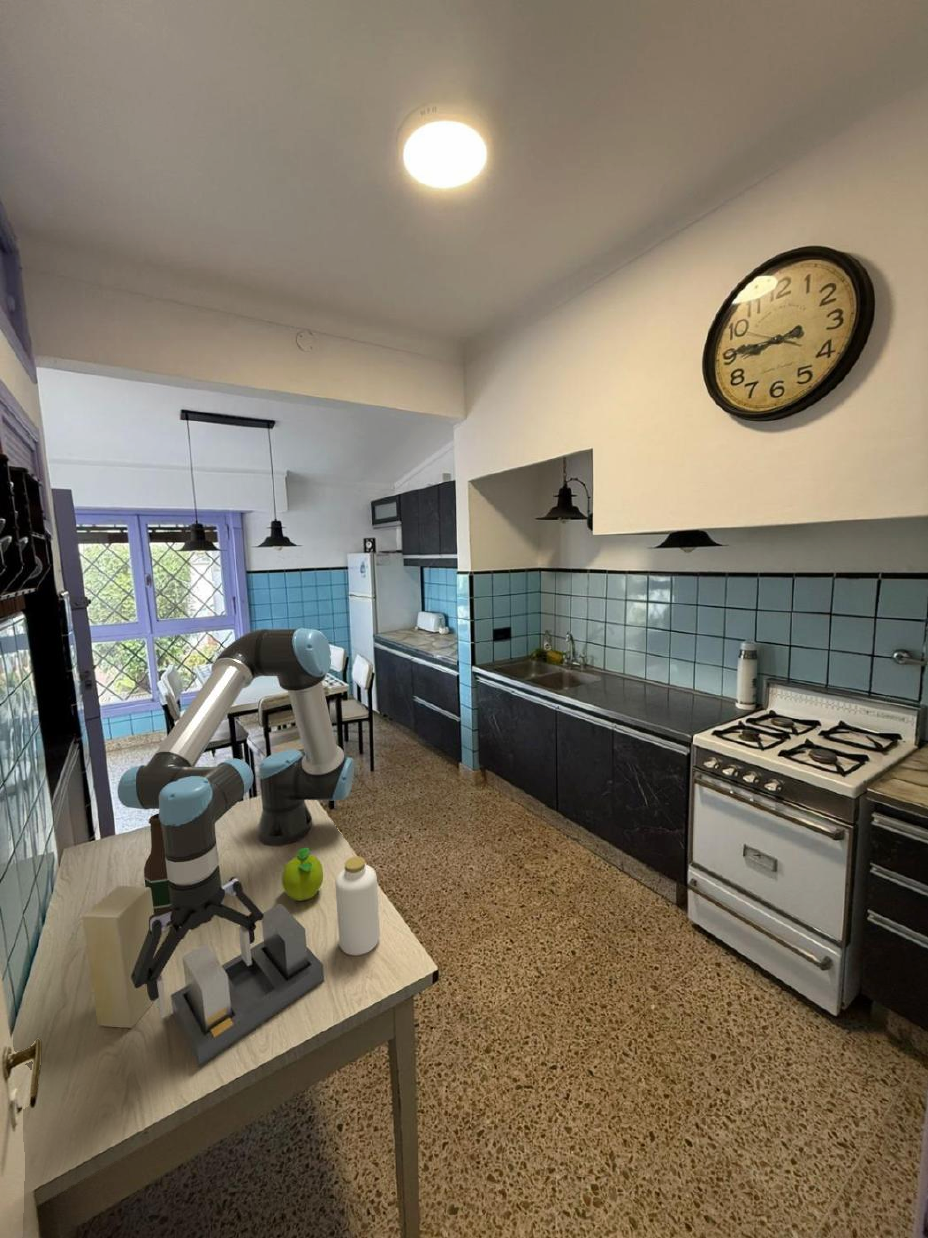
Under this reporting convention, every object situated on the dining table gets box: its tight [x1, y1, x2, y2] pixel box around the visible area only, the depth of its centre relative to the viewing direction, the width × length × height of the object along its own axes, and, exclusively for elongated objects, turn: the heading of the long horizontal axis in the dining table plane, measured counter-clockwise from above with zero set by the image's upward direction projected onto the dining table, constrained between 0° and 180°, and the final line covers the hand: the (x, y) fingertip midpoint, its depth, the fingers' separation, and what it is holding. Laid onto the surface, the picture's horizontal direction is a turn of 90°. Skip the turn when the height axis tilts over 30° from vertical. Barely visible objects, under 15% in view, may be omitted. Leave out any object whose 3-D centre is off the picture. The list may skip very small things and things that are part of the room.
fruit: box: [281, 847, 324, 902], centre depth 117 cm, size 9×9×10 cm
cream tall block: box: [82, 885, 163, 1029], centre depth 88 cm, size 8×7×21 cm
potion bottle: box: [334, 855, 381, 956], centre depth 102 cm, size 8×8×18 cm
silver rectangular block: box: [182, 943, 232, 1036], centre depth 86 cm, size 4×10×10 cm, turn 45°
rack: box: [170, 903, 325, 1069], centre depth 91 cm, size 22×14×11 cm, turn 135°
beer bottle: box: [143, 812, 173, 926], centre depth 111 cm, size 8×8×24 cm
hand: (207, 985), depth 86 cm, fingers open, 13 cm apart
